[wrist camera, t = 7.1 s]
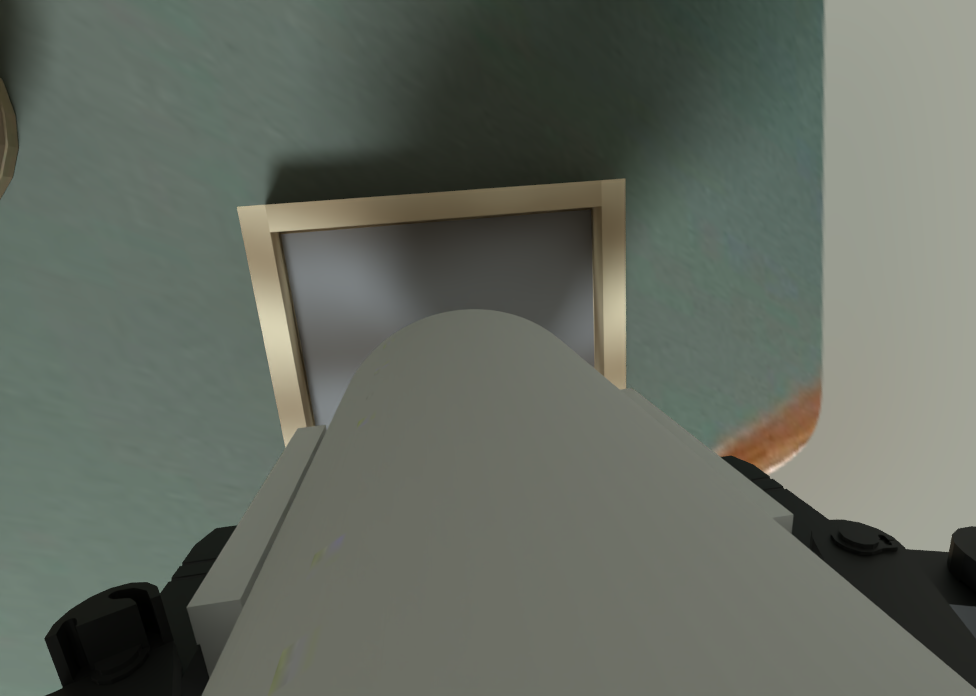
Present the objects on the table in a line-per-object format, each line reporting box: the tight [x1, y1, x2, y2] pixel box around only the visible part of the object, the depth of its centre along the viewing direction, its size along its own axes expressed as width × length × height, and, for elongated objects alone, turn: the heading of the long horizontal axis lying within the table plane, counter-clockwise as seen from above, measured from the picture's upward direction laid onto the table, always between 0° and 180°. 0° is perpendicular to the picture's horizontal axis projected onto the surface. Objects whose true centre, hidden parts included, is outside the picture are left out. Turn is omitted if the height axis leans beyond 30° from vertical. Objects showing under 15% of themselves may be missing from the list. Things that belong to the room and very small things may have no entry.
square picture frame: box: [237, 179, 626, 448], centre depth 22 cm, size 15×15×3 cm
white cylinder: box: [202, 309, 976, 696], centre depth 9 cm, size 8×8×12 cm
